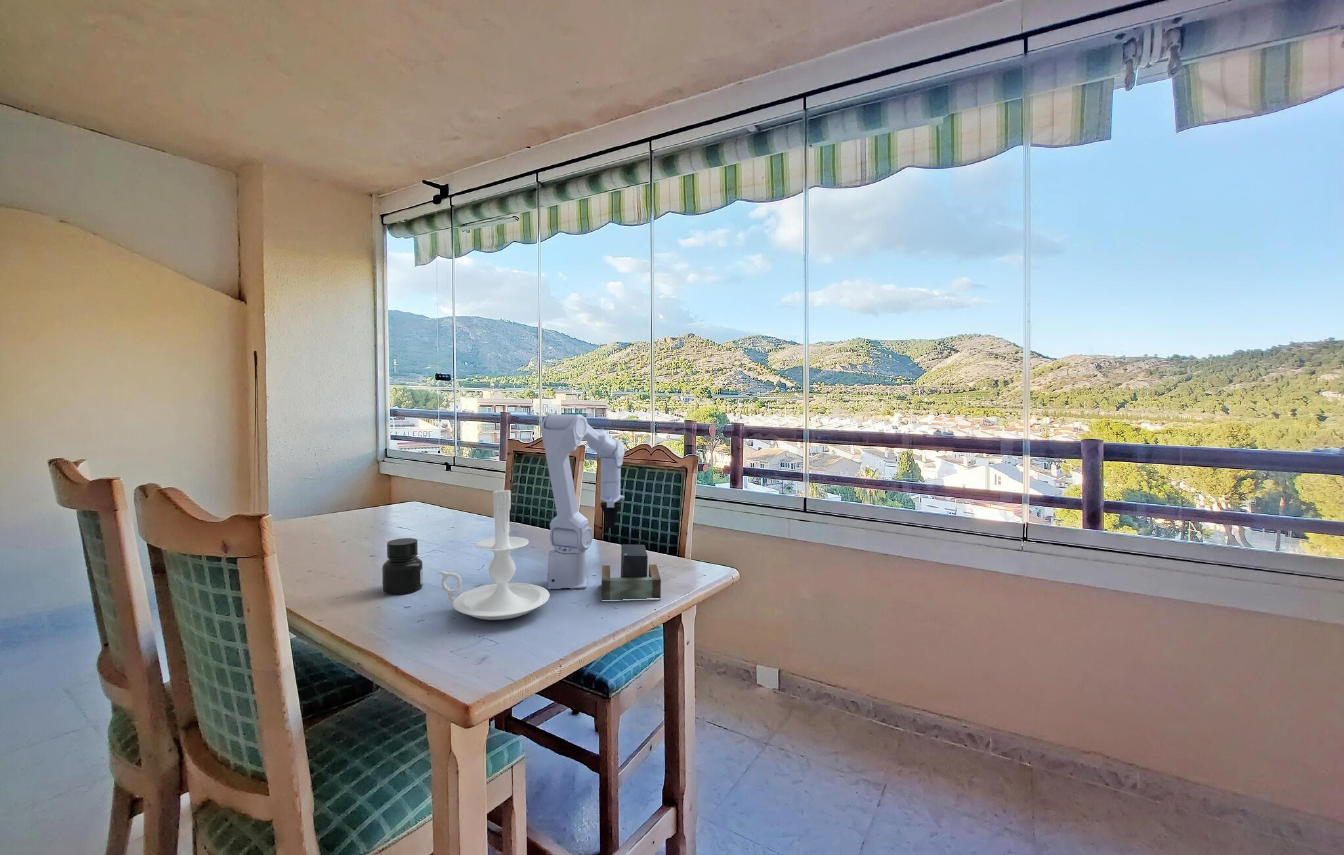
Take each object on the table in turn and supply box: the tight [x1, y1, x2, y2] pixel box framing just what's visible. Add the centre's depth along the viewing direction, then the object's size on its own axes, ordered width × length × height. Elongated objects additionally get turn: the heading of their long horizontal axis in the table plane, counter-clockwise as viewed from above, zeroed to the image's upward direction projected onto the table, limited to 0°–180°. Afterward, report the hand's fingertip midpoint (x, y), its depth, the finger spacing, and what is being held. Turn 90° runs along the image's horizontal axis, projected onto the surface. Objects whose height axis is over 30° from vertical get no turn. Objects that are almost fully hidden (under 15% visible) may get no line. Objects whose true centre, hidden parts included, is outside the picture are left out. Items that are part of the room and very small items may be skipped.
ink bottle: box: [381, 537, 424, 595], centre depth 136 cm, size 10×9×12 cm
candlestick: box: [438, 487, 550, 621], centre depth 122 cm, size 21×25×28 cm
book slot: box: [601, 564, 662, 601], centre depth 136 cm, size 14×12×5 cm
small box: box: [620, 543, 649, 578], centre depth 138 cm, size 11×6×10 cm, turn 7°
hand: (610, 527), depth 160 cm, fingers closed
